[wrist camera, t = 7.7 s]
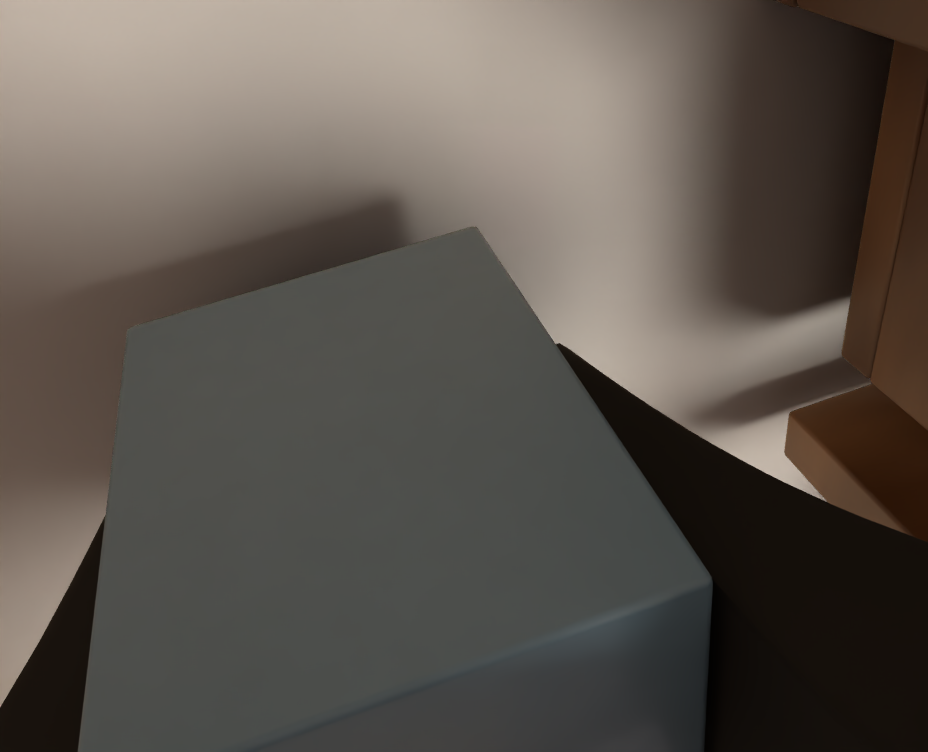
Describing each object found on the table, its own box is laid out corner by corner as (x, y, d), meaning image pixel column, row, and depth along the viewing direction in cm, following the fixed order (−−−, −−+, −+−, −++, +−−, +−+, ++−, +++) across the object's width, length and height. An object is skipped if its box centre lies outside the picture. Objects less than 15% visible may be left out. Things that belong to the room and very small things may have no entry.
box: (519, 466, 13) (702, 835, 8) (250, 556, 13) (286, 1002, 8) (476, 223, 10) (717, 579, 6) (125, 326, 10) (66, 812, 5)
